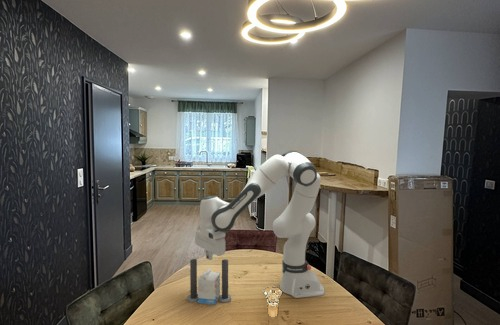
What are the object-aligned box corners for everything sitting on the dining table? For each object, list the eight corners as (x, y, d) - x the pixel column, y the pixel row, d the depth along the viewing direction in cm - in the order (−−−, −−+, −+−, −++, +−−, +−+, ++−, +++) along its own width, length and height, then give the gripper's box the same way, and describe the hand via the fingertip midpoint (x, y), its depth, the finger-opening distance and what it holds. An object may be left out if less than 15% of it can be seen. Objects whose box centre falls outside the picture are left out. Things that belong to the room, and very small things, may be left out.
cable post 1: (201, 295, 134) (201, 257, 132) (198, 302, 128) (198, 263, 126) (188, 295, 134) (188, 257, 132) (185, 302, 128) (185, 263, 126)
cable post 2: (231, 296, 133) (231, 258, 132) (230, 303, 127) (230, 263, 126) (219, 295, 133) (219, 258, 132) (217, 302, 127) (217, 263, 126)
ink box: (214, 305, 125) (214, 277, 125) (197, 303, 127) (197, 275, 126) (220, 295, 134) (220, 269, 133) (204, 293, 136) (204, 267, 135)
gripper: (191, 226, 134) (191, 254, 135) (216, 237, 119) (216, 268, 120) (202, 224, 138) (202, 250, 139) (227, 234, 123) (227, 263, 124)
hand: (209, 258), depth 129 cm, fingers closed
